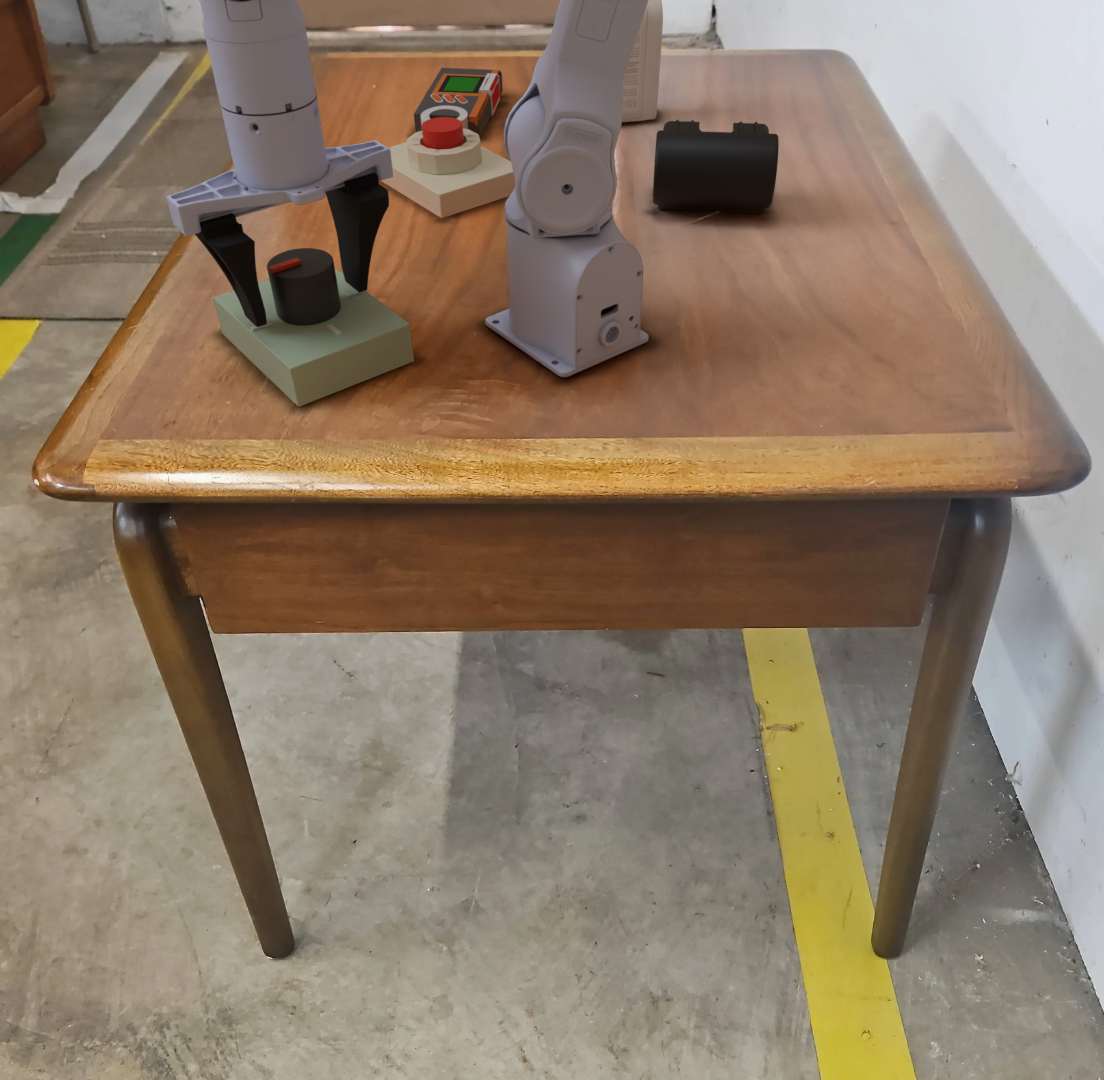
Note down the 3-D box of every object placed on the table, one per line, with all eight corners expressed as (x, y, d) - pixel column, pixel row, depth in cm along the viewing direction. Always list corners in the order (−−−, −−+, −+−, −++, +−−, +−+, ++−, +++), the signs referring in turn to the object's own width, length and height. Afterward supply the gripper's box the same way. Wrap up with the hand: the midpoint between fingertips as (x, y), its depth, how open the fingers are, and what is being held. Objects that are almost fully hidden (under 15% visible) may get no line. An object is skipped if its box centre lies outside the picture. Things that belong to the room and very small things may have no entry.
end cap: (651, 223, 87) (655, 144, 83) (654, 189, 92) (658, 112, 88) (769, 228, 86) (780, 148, 82) (766, 193, 91) (776, 116, 87)
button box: (525, 192, 92) (523, 147, 90) (441, 219, 88) (437, 173, 85) (451, 152, 99) (448, 110, 97) (371, 176, 95) (365, 132, 93)
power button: (471, 145, 91) (470, 125, 90) (437, 155, 89) (436, 134, 88) (449, 133, 93) (447, 113, 92) (415, 142, 92) (413, 123, 90)
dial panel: (414, 361, 71) (409, 321, 69) (298, 407, 67) (289, 366, 65) (331, 295, 78) (324, 257, 76) (221, 334, 74) (211, 294, 72)
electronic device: (407, 120, 99) (442, 62, 110) (410, 149, 101) (444, 90, 112) (475, 123, 98) (503, 65, 109) (477, 153, 100) (504, 93, 111)
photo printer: (650, 107, 108) (657, -23, 99) (662, 121, 105) (670, -12, 96) (555, 116, 106) (554, -15, 98) (565, 131, 103) (565, -4, 95)
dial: (322, 287, 73) (313, 237, 70) (352, 311, 70) (344, 260, 68) (265, 307, 71) (254, 256, 68) (295, 332, 68) (284, 280, 66)
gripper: (177, 147, 56) (232, 361, 65) (407, 91, 62) (427, 293, 71) (132, 111, 60) (189, 317, 69) (351, 62, 66) (377, 256, 75)
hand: (307, 302), depth 70 cm, fingers open, 7 cm apart
